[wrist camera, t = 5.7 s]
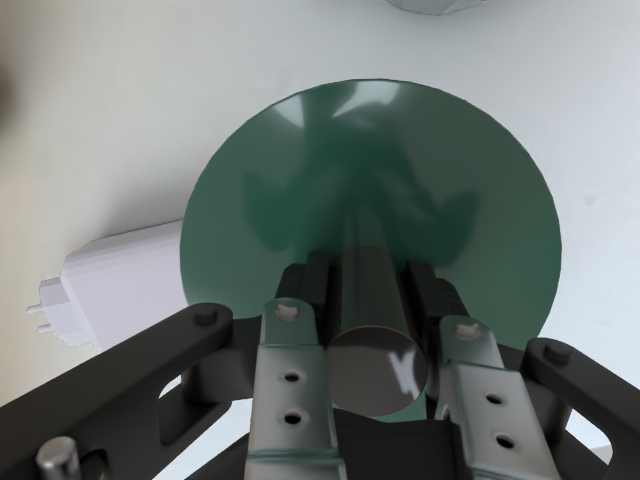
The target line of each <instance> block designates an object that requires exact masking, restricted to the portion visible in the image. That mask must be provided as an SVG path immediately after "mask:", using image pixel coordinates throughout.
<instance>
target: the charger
mask: <svg viewBox="0 0 640 480" xmlns="http://www.w3.org/2000/svg"><path fill="white" fill-rule="evenodd" d="M182 223H183V220H179V221H175V222H171V223H166V224H162V225H158V226H153V227H149V228H145V229H141V230H136V231H132V232H128V233H124V234H119V235H115V236H111V237H106V238H102V239H98V240H94V241H91V242H90V243H88V244H86V245H85V246H83V247H81V248H80V249H78V250H76V251H75V252H73V253H71V254H70V255H68V256H67V257H66V258H65V260H64V263H63V266H62V269H61V272H60V277H58V278H54V279H49V280H45V281H41V283H40V287H39V292H40V302H41V304H40V305H35V306H31V307H27V309H26V312H27V313H29V314H30V313H35V312H40V311H43V313H44V314H45V316H46V318H47V320H48V322H49V324H47V325H42V326H38V327H37V332H39V333H41V332H46V331H51V330H53V332H54V333H55V335H56V336H57V337H58V338H59V339H61V340H62V341H64V342H65V343H66V344H68V345H70V346H77V345H82V344H87V343H92V345H93V347H94V349H95V351H96V353H97V355H99V354H100V353H102V352H104V351H106V350H108V349H110V348H112V347H113V346H115V345H117V344H119V343H121V342H123V341H125V340H126V339H128V338H130V337H132V336H134V335H136V334H138V333H139V332H141V331H143V330H145V329H147V328H149V327H151V326H152V325H154V324H156V323H158V322H160V321H162V320H164V319H165V318H167V317H169V316H171V315H173V314H175V313H177V312H178V311H180V310H182V309H184V308H186V307H188V305H187V301H186V298H185V295H184V291H183V286H182V279H181V273H180V247H179V246H180V238H181V230H182Z"/></svg>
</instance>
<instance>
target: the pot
mask: <svg viewBox="0 0 640 480" xmlns="http://www.w3.org/2000/svg"><path fill="white" fill-rule="evenodd" d="M385 1H387V2H389V3H390V4H392V5H394V6H396V7H397V8H400V9H403V10H406V11H410V12H414V13H420V14H429V15H432V14H433V15H441V14H446V13H451V12H457V11H460V10H463V9H466V8H469V7H473V6H476V5H479V4H481V3H483V2H484V1H486V0H385Z"/></svg>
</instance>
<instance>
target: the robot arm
mask: <svg viewBox="0 0 640 480" xmlns="http://www.w3.org/2000/svg"><path fill="white" fill-rule="evenodd" d="M329 261H330V253H325V252H315V251H309V255H308V259H307V264H296V263H292V264H291V265H289V266H288V267H286V268H285V269H284V271H283V274H282V278H281V280H280V284H279V286H278V289H277V292H276V295H275V298H274V299H273V300H271V301H269V302H267V303H266V304H265V305H264V307H263V312H262V315H259V316H256V317H252V318H245V319H233V312H232V310H231V309H230V308H228V307H227V306H225V305H222V304H219V303H212V302H205V303H197V304H193V305H190V306H188V307H186V308H184V309H182V310H180V311H178V312H177V313H175V314H173V315H171V316H169V317H167V318H165V319H164V320H162V321H160V322H158V323H156V324H154V325H152V326H151V327H149V328H147V329H145V330H143V331H141V332H139V333H138V334H136V335H134V336H132V337H130V338H128V339H126V340H125V341H123V342H121V343H119V344H117V345H115V346H113V347H112V348H110V349H108V350H106V351H104V352H102V353H100V354H99V355H97V356H95V357H93V358H91V359H89V360H87V361H86V362H84V363H82V364H80V365H78V366H76V367H74V368H73V369H71V370H69V371H67V372H65V373H63V374H61V375H60V376H58V377H56V378H54V379H52V380H50V381H48V382H47V383H45V384H43V385H41V386H39V387H37V388H35V389H34V390H32V391H30V392H28V393H26V394H24V395H22V396H21V397H19V398H17V399H15V400H13V401H11V402H9V403H8V404H6V405H4V406H2V407H0V480H152V479H153V478H154V477H155V476H156V475H158V474H159V473H160V472H161V471H162V470H163V469H164V468H165V467H166V466H167V465H169V464H170V463H171V462H172V461H173V460H174V459H175V458H176V457H177V456H178V455H180V454H181V453H182V452H183V451H184V450H185V449H186V448H187V447H188V446H189V445H191V444H192V443H193V442H194V441H195V440H196V439H197V438H198V437H199V436H200V435H202V434H203V433H204V432H205V431H206V430H207V429H208V428H209V427H210V426H212V425H213V424H214V423H215V422H216V421H217V420H218V419H219V418H220V417H221V416H223V415H224V414H225V413H226V412H227V411H228V410H229V408H230V407H231V404H232V401H234V400H241V399H248V398H253V403H252V413H251V423H250V432H249V433H247V434H245V435H244V436H243V437H241V438H240V439H238V440H237V441H236V442H234V443H233V444H232V445H230V446H229V447H228V448H226V449H225V450H224V451H222V452H221V453H220V454H218V455H217V456H216V457H214V458H213V459H211V460H210V461H209V462H207V463H206V464H205V465H203V466H202V467H201V468H199V469H198V470H197V471H195V472H194V473H193V474H191V475H190V476H189V477H187V478H186V479H184V480H640V390H639V389H637V388H636V387H634V386H633V385H631V384H630V383H628V382H627V381H625V380H623V379H622V378H620V377H619V376H617V375H616V374H614V373H613V372H611V371H609V370H608V369H606V368H605V367H603V366H602V365H600V364H599V363H597V362H596V361H594V360H592V359H591V358H589V357H588V356H586V355H585V354H583V353H582V352H580V351H579V350H577V349H575V348H574V347H572V346H570V345H568V344H566V343H563V342H561V341H558V340H554V339H550V338H533V339H530V340H529V341H528V342H527V345H526V348H525V351H522V350H519V349H515V348H512V347H508V346H505V345H502V344H499V343H496V341H495V338H494V335H493V332H492V330H491V329H490V328H489V327H488V326H487V325H485V324H484V323H482V322H481V321H479V320H477V319H474V318H471V317H470V315H469V313H468V311H467V309H466V308H465V306H464V304H463V303H462V300H461V298H460V296H458V295H459V294H458V292H457V290H456V288H455V286H453V285H452V284H451V283H450V282H448V281H447V280H446V279H444V278H436V276H435V273H434V271H433V269H432V267H431V265H430V263H424V262H414V261H407V263H406V266H405V271H404V277H403V278H404V282H405V285H406V289H407V292H408V296H409V299H410V303H411V306H412V310H413V313H414V317H415V320H416V324H417V328H418V331H419V335H420V338H421V342H422V345H423V349H424V352H425V356H426V359H427V363H428V379H427V383H426V385H425V394H424V398H423V404H422V408H423V420H414V421H403V422H392V423H387V422H381V421H378V420H375V419H372V418H368V417H365V416H362V415H359V414H355V413H352V412H349V411H346V410H342V409H337V408H332V401H331V394H330V388H329V381H328V374H327V367H326V360H325V353H324V347H323V345H319V344H320V336H321V333H322V330H323V320H324V311H325V301H326V291H327V281H328V271H329ZM179 375H181V383H180V384H178V385H177V386H176V387H174V388H173V389H171V390H170V391H169V392H167V393H166V394H165V395H163V396H162V397H160V398H159V396H160V394H161V392H162V390H163V389H164V387H165V386H166V385H167V384H168V383H169V382H171V381H172V380H174V379H175V378H176V377H178V376H179ZM572 409H574V410H576V411H577V412H578V413H579V414H581V415H582V416H583V417H585V418H586V419H587V420H588V421H590V422H591V423H592V424H593V425H595V426H596V427H597V428H599V429H600V430H601V431H602V432H603V433H604V434H605V435H606V436H607V437H608V439H609V441H610V443H611V445H612V449H613V455H612V458H611V460H610V463H609V465H607V464H606V463H604V462H603V461H602V460H601V459H600V458H599V457H597V456H596V455H595V454H594V453H592V451H590V450H589V449H588V448H587V447H586V446H584V445H583V444H582V443H581V442H580V441H579V440H577V439H576V438H575V437H574V436H573V435H571V434H570V433H569V432H568V431H567V430H566V429H565V428H566V425H567V422H568V420H569V417H570V414H571V412H572Z"/></svg>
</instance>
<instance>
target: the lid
mask: <svg viewBox="0 0 640 480" xmlns="http://www.w3.org/2000/svg"><path fill="white" fill-rule="evenodd" d="M179 247H180V273H181V279H182V286H183V291H184V295H185V298H186V301H187V305H188V306H190V305H193V304H197V303H205V302H212V303H219V304H222V305H225V306H227V307H228V308H230V309H231V310H232V312H233V319H245V318H252V317H256V316H259V315H262V312H263V307H264V305H265V304H266V303H267V302H269V301H271V300H273V299H274V298H275V295H276V292H277V289H278V286H279V284H280V280H281V278H282V274H283V271H284V269H285V268H286V267H288V266H289V265H291V264H292V263H296V264H307V259H308V255H309V251H315V252H325V253H330V261H329V271H328V281H327V291H326V301H325V311H324V320H323V330H322V333H321V336H320V344H319V345H323V347H324V353H325V360H326V367H327V374H328V381H329V388H330V394H331V401H332V408H337V409H342V410H346V411H349V412H352V413H355V414H359V415H362V416H365V417H368V418H372V419H375V420H378V421H381V422H387V423H392V422H403V421H414V420H423V408H422V404H423V398H424V394H425V385H426V383H427V379H428V363H427V359H426V356H425V352H424V349H423V345H422V342H421V338H420V335H419V331H418V328H417V324H416V320H415V317H414V313H413V310H412V306H411V303H410V299H409V296H408V292H407V289H406V285H405V282H404V278H403V277H404V271H405V266H406V263H407V261H414V262H424V263H430V265H431V267H432V269H433V271H434V273H435V276H436V278H444V279H446V280H447V281H448V282H450V283H451V284H452V285H453V286H455V288H456V290H457V292H458V294H459V295H458V296H460V298H461V300H462V303H463V304H464V306H465V308H466V309H467V311H468V313H469V315H470V317H471V318H474V319H477V320H479V321H481V322H482V323H484V324H485V325H487V326H488V327H489V328H490V329H491V330H492V332H493V335H494V338H495V341H496V343H499V344H502V345H505V346H508V347H512V348H515V349H519V350H522V351H525V348H526V345H527V342H528V341H529V340H530V339H533V338H537V336H538V335H539V333H540V331H541V329H542V327H543V325H544V323H545V321H546V319H547V317H548V315H549V313H550V310H551V307H552V304H553V301H554V298H555V295H556V292H557V287H558V282H559V277H560V271H561V253H562V243H561V234H560V225H559V219H558V215H557V212H556V208H555V204H554V201H553V197H552V195H551V193H550V190H549V188H548V186H547V184H546V181H545V179H544V177H543V175H542V173H541V171H540V170H539V168H538V167H537V165H536V164H535V162H534V161H533V159H532V157H531V156H530V154H529V153H528V152H527V150H526V149H525V148H524V147H523V146H522V145H521V144H520V143H519V141H518V140H517V139H516V138H515V137H514V136H513V135H512V134H511V133H510V132H509V131H508V130H507V129H506V128H505V127H503V126H502V125H501V124H500V123H499V122H497V121H496V120H495V119H494V118H492V117H491V116H490V115H489V114H487V113H486V112H484V111H482V110H481V109H479V108H477V107H476V106H474V105H472V104H471V103H469V102H467V101H466V100H463V99H461V98H459V97H456V96H454V95H451V94H449V93H447V92H444V91H442V90H440V89H436V88H432V87H429V86H425V85H421V84H417V83H413V82H408V81H399V80H390V79H351V80H345V81H340V82H334V83H328V84H323V85H319V86H316V87H313V88H310V89H307V90H304V91H300V92H297V93H295V94H293V95H291V96H289V97H286V98H284V99H282V100H280V101H278V102H276V103H274V104H272V105H270V106H268V107H267V108H265V109H264V110H262V111H261V112H259V113H258V114H256V115H255V116H253V117H252V118H250V119H249V120H248V121H246V122H245V123H244V124H243V125H242V126H241V127H240V128H239V129H237V130H236V131H235V132H234V133H233V134H232V135H231V136H230V137H228V138H227V140H226V141H225V142H224V143H223V144H222V146H221V147H220V148H219V149H218V150H217V152H216V153H215V154H214V155H213V156H212V157H211V159H210V161H209V162H208V164H207V165H206V167H205V169H204V170H203V172H202V173H201V175H200V177H199V178H198V180H197V183H196V185H195V187H194V190H193V192H192V194H191V196H190V199H189V201H188V205H187V208H186V212H185V215H184V219H183V223H182V230H181V238H180V246H179Z"/></svg>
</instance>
